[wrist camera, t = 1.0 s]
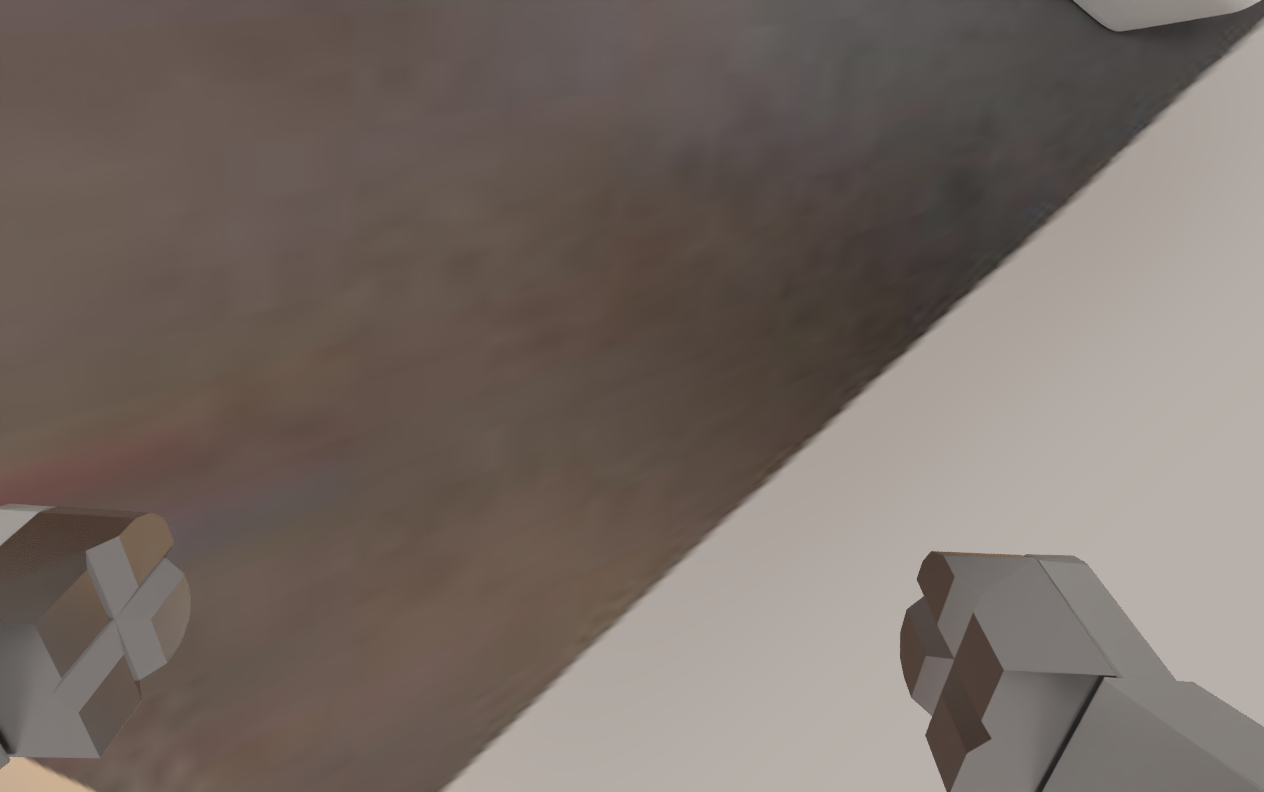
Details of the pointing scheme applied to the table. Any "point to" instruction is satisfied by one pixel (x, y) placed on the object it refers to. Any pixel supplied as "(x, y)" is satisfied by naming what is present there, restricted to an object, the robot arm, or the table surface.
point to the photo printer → (1156, 11)
